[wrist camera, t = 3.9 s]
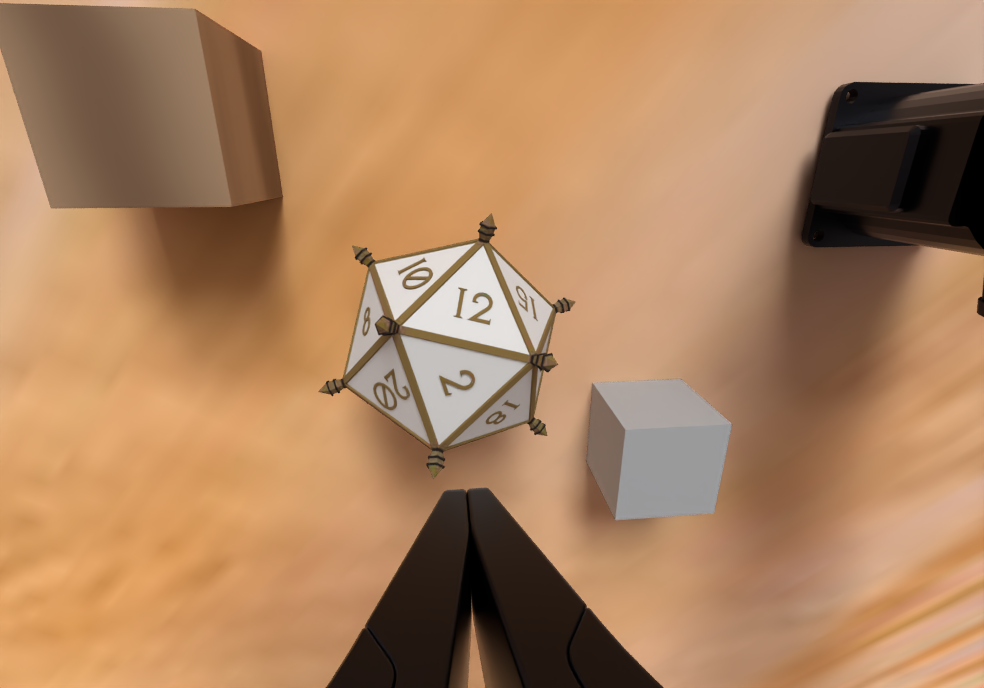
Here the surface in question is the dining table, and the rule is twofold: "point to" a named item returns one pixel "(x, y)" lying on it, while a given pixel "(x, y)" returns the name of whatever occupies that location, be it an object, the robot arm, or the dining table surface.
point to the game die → (450, 344)
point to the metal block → (140, 106)
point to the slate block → (655, 448)
